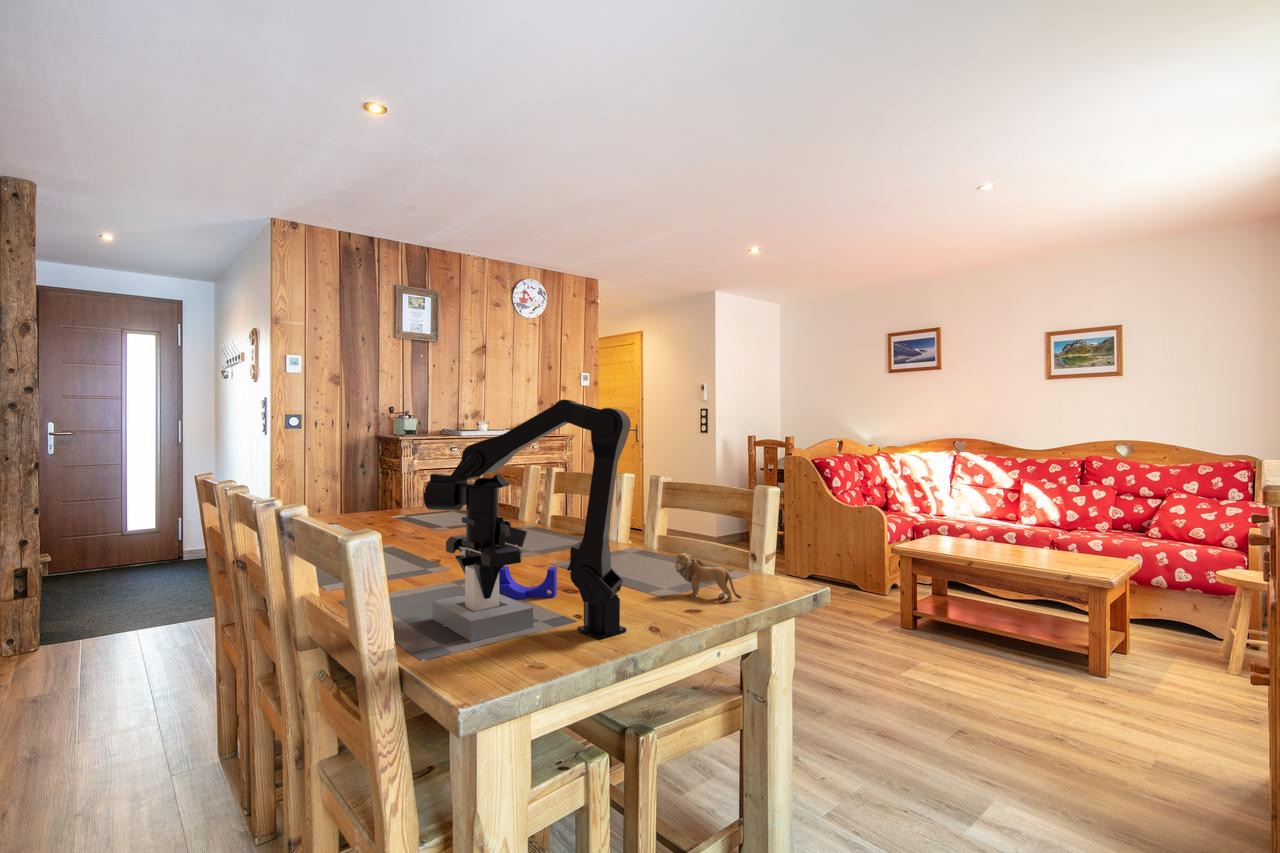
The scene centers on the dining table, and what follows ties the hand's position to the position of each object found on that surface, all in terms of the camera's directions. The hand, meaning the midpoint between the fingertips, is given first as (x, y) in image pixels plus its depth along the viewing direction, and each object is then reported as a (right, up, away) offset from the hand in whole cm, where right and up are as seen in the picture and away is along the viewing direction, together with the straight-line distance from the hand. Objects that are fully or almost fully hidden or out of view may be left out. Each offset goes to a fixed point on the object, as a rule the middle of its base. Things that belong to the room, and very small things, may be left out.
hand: (482, 596), depth 117 cm
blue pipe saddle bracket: (+5, -5, +18) cm, 20 cm away
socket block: (0, -5, 0) cm, 5 cm away
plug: (0, -3, 0) cm, 3 cm away
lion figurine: (+43, -5, +18) cm, 47 cm away
